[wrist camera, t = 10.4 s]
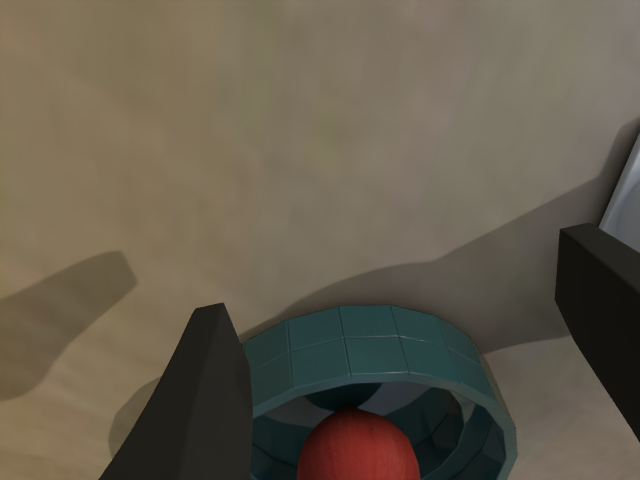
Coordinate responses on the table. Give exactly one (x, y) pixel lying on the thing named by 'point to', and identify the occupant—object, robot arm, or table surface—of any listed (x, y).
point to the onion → (357, 449)
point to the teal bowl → (379, 390)
